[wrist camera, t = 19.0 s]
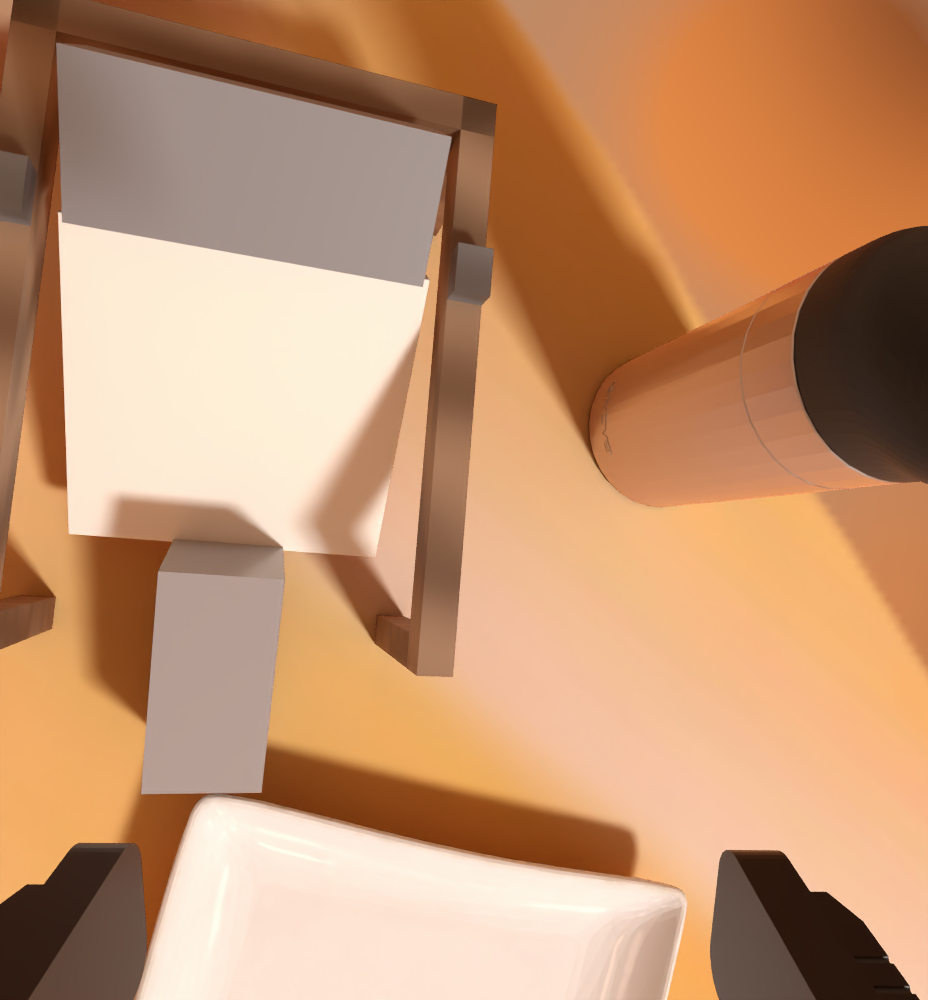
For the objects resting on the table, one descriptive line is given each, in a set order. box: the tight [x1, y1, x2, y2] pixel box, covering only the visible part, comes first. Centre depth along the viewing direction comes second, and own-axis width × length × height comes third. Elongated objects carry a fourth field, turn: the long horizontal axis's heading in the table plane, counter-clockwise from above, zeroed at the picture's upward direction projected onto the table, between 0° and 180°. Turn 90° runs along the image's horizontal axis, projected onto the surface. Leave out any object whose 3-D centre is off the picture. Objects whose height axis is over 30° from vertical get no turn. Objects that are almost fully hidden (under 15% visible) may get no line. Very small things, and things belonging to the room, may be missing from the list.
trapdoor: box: [56, 43, 452, 557], centre depth 31 cm, size 20×14×4 cm
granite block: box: [141, 539, 285, 794], centre depth 34 cm, size 5×5×10 cm
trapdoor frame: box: [0, 0, 497, 677], centre depth 33 cm, size 24×19×12 cm
